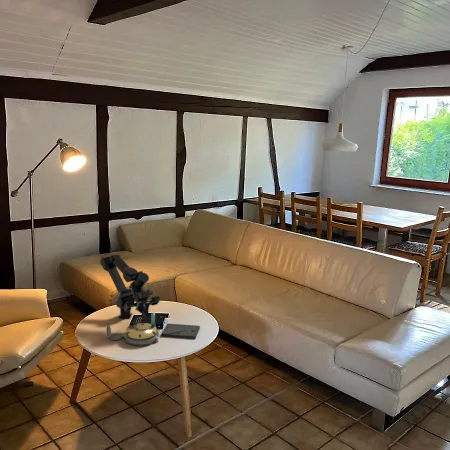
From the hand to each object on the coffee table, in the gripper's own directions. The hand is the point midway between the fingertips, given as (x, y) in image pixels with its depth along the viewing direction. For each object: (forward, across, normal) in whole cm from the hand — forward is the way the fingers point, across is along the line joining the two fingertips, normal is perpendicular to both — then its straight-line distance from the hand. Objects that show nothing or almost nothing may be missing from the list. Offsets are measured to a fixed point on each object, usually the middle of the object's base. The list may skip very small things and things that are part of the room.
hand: (147, 318), depth 232 cm
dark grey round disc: (+9, -6, +2) cm, 11 cm away
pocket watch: (+4, -18, +7) cm, 19 cm away
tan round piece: (+8, -6, 0) cm, 10 cm away
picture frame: (+13, +14, -1) cm, 19 cm away
